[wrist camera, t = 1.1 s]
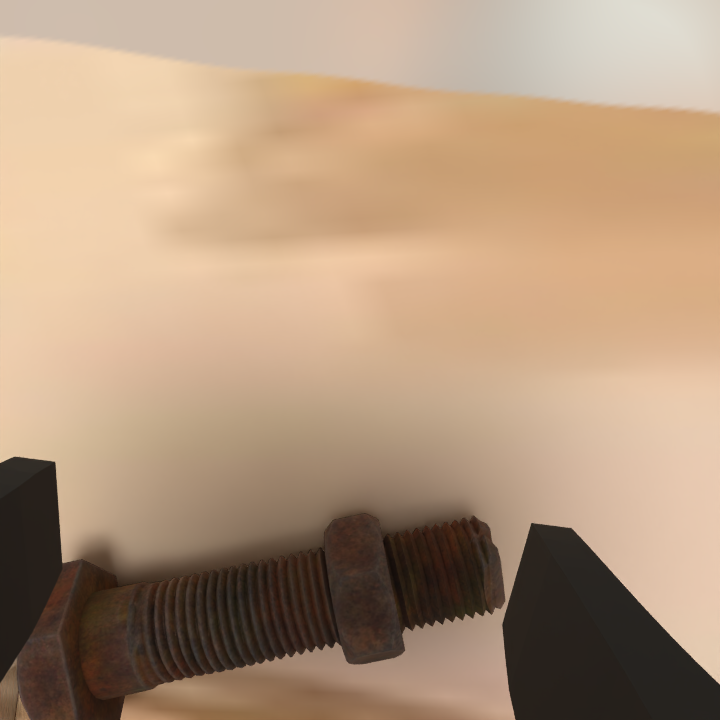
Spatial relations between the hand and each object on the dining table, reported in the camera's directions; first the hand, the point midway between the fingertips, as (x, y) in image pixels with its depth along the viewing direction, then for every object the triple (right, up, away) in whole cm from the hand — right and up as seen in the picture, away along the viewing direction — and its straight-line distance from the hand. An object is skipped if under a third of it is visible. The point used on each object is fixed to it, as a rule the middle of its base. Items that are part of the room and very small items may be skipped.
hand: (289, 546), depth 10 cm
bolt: (-2, -6, +15) cm, 16 cm away
